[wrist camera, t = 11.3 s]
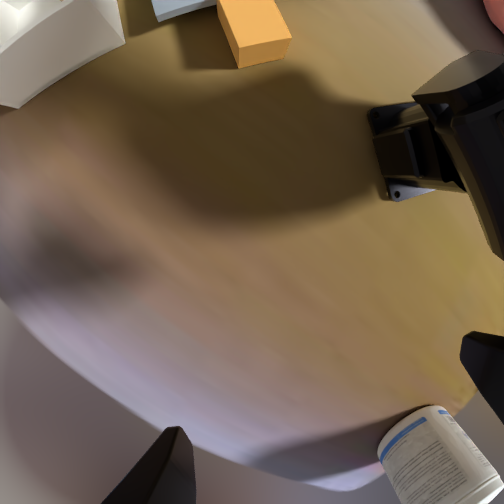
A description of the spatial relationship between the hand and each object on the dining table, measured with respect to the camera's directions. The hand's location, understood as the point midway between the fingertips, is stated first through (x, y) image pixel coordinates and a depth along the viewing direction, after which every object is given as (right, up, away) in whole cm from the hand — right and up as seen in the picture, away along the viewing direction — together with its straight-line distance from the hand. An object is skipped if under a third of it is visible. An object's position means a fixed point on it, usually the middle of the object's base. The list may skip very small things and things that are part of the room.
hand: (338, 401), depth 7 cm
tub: (-18, +22, +6) cm, 29 cm away
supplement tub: (+16, -17, +18) cm, 29 cm away
